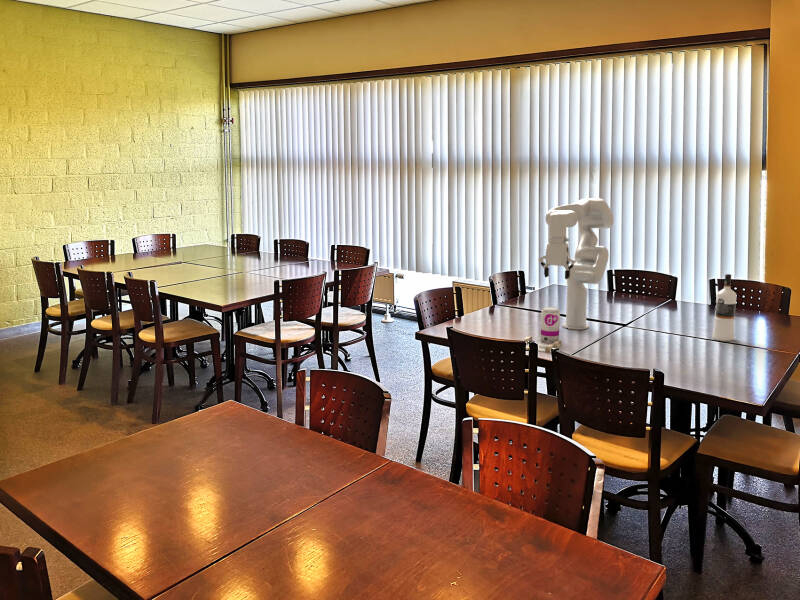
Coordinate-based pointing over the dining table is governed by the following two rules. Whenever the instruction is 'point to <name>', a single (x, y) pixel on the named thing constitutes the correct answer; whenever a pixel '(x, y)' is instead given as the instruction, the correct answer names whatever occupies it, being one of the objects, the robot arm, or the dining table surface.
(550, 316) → the supplement can
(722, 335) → the vodka
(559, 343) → the rail cradle
